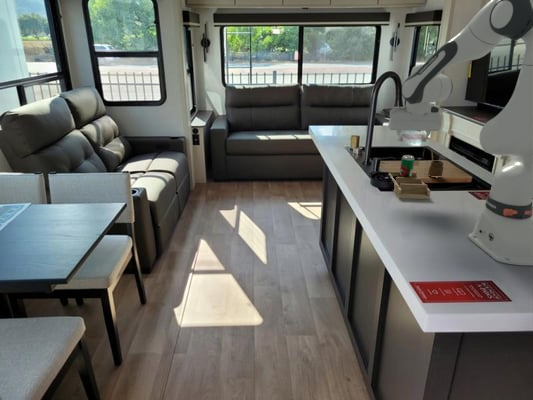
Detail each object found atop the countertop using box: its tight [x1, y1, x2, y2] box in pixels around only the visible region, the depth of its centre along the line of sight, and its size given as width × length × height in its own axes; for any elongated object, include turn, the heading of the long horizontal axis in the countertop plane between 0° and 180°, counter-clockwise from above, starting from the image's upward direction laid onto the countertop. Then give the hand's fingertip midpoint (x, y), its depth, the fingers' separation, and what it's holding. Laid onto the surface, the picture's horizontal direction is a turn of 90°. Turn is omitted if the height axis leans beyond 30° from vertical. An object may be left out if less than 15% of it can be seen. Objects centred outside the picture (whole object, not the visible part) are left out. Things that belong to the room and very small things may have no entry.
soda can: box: [399, 154, 415, 178], centre depth 164 cm, size 5×5×12 cm
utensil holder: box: [428, 150, 446, 177], centre depth 176 cm, size 6×6×12 cm
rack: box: [387, 170, 431, 200], centre depth 162 cm, size 20×12×5 cm, turn 176°
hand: (411, 141), depth 158 cm, fingers open, 8 cm apart
